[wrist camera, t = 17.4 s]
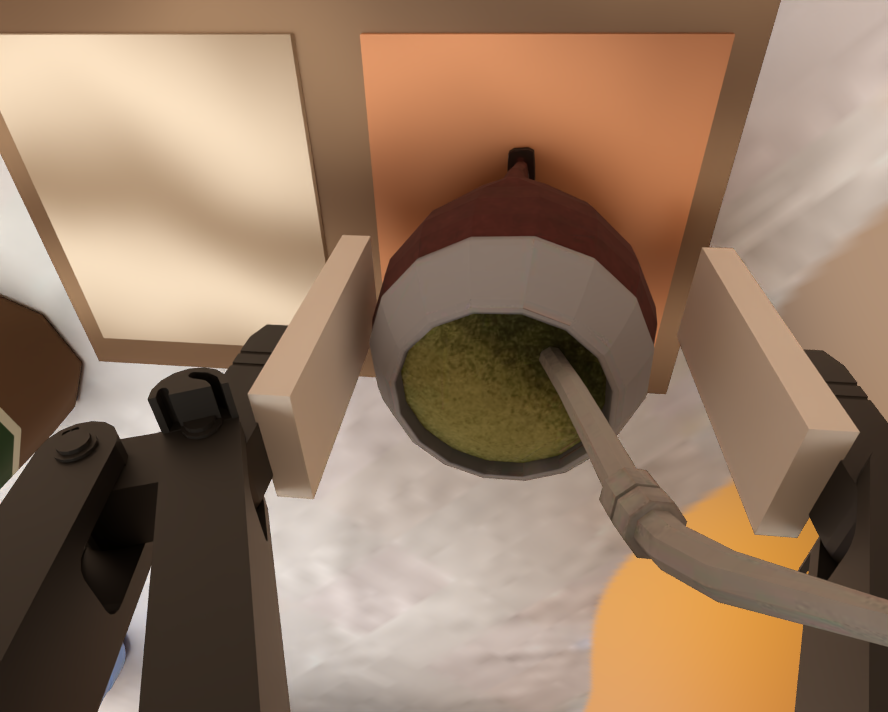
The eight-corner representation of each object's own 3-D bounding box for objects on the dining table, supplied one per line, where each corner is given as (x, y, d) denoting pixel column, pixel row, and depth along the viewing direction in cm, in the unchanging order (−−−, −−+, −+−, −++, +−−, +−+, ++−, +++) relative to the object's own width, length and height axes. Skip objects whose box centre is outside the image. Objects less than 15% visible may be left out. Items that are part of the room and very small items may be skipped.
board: (658, 370, 23) (667, 399, 22) (118, 341, 26) (94, 365, 24) (770, -39, 15) (796, -37, 14) (-44, -29, 17) (-95, -26, 16)
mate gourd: (429, 328, 21) (263, 824, 10) (402, 108, 17) (8, 543, 5) (635, 333, 20) (738, 919, 8) (668, 93, 15) (1024, 656, 3)
